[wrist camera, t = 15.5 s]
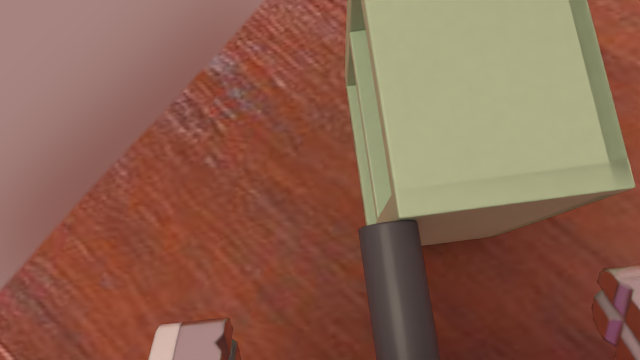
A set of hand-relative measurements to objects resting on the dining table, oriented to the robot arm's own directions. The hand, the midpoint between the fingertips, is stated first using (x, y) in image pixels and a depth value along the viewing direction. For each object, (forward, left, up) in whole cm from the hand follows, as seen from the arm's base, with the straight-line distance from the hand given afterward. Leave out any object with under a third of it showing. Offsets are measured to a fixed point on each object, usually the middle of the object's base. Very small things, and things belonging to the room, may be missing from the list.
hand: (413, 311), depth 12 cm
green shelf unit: (-5, -1, -13) cm, 14 cm away
